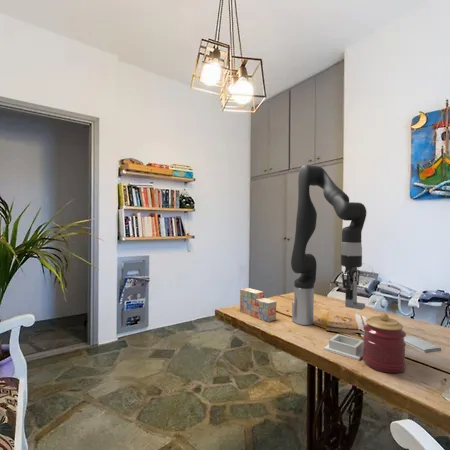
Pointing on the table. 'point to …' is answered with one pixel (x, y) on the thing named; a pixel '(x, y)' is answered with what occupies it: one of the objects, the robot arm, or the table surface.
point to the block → (354, 299)
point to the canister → (384, 344)
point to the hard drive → (420, 344)
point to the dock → (346, 346)
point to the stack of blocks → (257, 304)
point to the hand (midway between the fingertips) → (351, 298)
